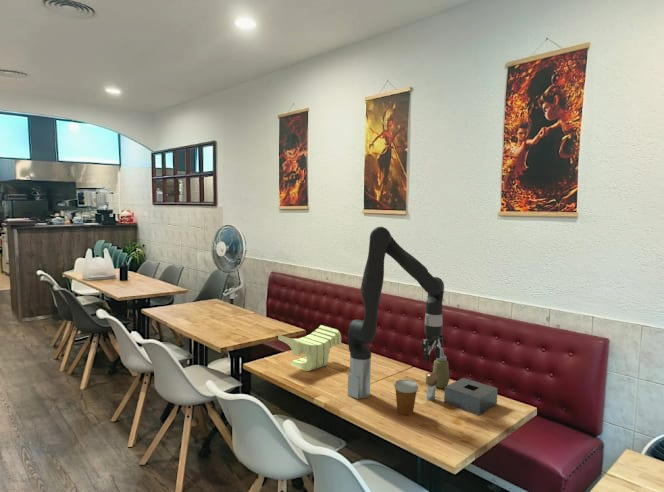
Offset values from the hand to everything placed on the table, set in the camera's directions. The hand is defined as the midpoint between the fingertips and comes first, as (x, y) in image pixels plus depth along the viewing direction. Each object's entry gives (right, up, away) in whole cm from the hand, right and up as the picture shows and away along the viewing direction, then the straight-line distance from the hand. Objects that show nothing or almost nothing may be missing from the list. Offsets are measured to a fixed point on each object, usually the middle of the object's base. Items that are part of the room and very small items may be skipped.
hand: (432, 360), depth 190 cm
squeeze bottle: (+7, -17, +15) cm, 24 cm away
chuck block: (+16, -18, -3) cm, 24 cm away
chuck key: (-1, -17, +1) cm, 17 cm away
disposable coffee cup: (-14, -18, -13) cm, 26 cm away
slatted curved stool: (-55, -13, +39) cm, 69 cm away
